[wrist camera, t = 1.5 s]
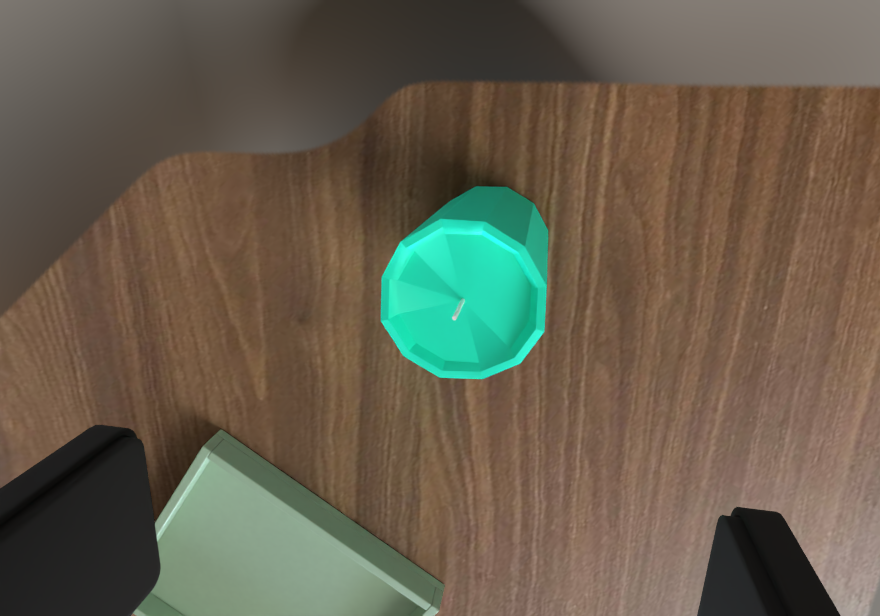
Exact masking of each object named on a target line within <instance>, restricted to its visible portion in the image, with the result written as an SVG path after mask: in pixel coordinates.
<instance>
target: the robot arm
mask: <svg viewBox="0 0 880 616" xmlns="http://www.w3.org/2000/svg"><path fill="white" fill-rule="evenodd" d="M160 570H161V564H160V557H159V550H158V543H157V536H156V529H155V522H154V514H153V507H152V500H151V493H150V486H149V479H148V472H147V465H146V458H145V451H144V446H143V443H142V441H141V440H140V439H138V438H137V436H136V434H135V433H134V431H133V430H131V429H129V428H121V427H113V426H105V425H95V426H93V427H91V428H89V429H87V430H86V431H85V432H83V433H82V434H80V435H79V436H77V437H76V438H74V439H73V440H71V441H70V442H68V443H67V444H65V445H64V446H62V447H61V448H59V449H58V450H57V451H55V452H54V453H52V454H51V455H49V456H48V457H46V458H45V459H43V460H42V461H40V462H39V463H37V464H36V465H34V466H33V467H31V468H30V469H29V470H27V471H26V472H24V473H23V474H21V475H20V476H18V477H17V478H15V479H14V480H12V481H11V482H9V483H8V484H6V485H5V486H3V487H2V488H1V489H0V616H131V615H132V614H133V612H134V611H135V610H136V609H137V608H138V606H139V605H140V604H141V603H142V602H143V601H144V599H145V598H146V597H147V596H148V595H149V593H150V592H151V591H152V590H153V588H154V587H155V585H156V583H157V581H158V578H159V575H160ZM697 616H840V614H839V612H838V611H837V609H836V607H835V605H834V604H833V602H832V600H831V599H830V597H829V595H828V593H827V592H826V590H825V588H824V586H823V585H822V583H821V581H820V580H819V578H818V576H817V574H816V573H815V571H814V569H813V567H812V566H811V564H810V562H809V561H808V559H807V557H806V555H805V554H804V552H803V550H802V549H801V547H800V545H799V543H798V542H797V540H796V538H795V536H794V535H793V533H792V531H791V530H790V528H789V526H788V524H787V523H786V521H785V519H784V518H783V516H782V515H781V514H780V513H778V512H773V511H765V510H757V509H749V508H742V507H736V508H734V510H733V511H732V513H731V516H724V515H722V516H720V517H719V519H718V522H717V526H716V531H715V535H714V540H713V545H712V549H711V554H710V559H709V563H708V568H707V573H706V577H705V582H704V587H703V592H702V596H701V601H700V606H699V610H698V615H697Z"/></svg>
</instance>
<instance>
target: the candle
mask: <svg viewBox="0 0 880 616" xmlns="http://www.w3.org/2000/svg"><path fill="white" fill-rule="evenodd" d="M547 258H548V229H547V227H546V225H545V223H544V222H543V220H542V218H541V216H540V214H539V212H538V210H537V208H536V206H535V205H534V203H533V202H531V201H529V200H528V199H526V198H525V197H523V196H521V195H520V194H518V193H516V192H515V191H513V190H511V189H510V188H508V187H489V186H475V187H474V188H472V189H470V190H468V191H467V192H465V193H463V194H461V195H460V196H458V197H456V198H454V199H453V200H451V201H449V202H448V203H447V204H445V205H444V206H443V207H442V208H441V209H439V210H438V211H437V212H436V213H435V214H433V215H432V216H431V217H430V218H429V219H427V220H426V221H425V222H424V223H423V224H421V225H420V226H419V227H418V228H416V229H415V230H414V231H413V232H412V233H410V234H409V235H408V236H407V237H406V238H404V239H403V240H402V241H401V242H400V244H399V245H398V247H397V249H396V251H395V253H394V255H393V257H392V259H391V260H390V262H389V264H388V266H387V268H386V270H385V272H384V274H383V276H382V290H381V322H382V324H383V325H384V327H385V328H386V330H387V331H388V333H389V334H390V336H391V338H392V339H393V341H394V342H395V344H396V345H397V347H398V348H399V350H400V352H401V353H402V355H403V356H404V357H406V358H408V359H409V360H411V361H413V362H414V363H416V364H418V365H419V366H421V367H423V368H424V369H426V370H428V371H429V372H431V373H433V374H435V375H436V376H438V377H440V378H464V379H484V378H486V377H489V376H491V375H494V374H496V373H499V372H501V371H503V370H506V369H508V368H511V367H513V366H516V365H518V364H520V363H521V362H522V361H523V359H524V358H525V357H526V355H527V354H528V353H529V351H530V350H531V349H532V347H533V346H534V345H535V343H536V342H537V341H538V339H539V338H540V337H541V335H542V334H543V333H544V329H545V310H546V291H547Z"/></svg>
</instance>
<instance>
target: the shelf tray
mask: <svg viewBox="0 0 880 616" xmlns="http://www.w3.org/2000/svg"><path fill="white" fill-rule="evenodd" d="M155 529H156V536H157V543H158V550H159V557H160V564H161V570H160V575H159V578H158V581H157V583H156V585H155V587H154V588H153V590H152V591H151V592H150V593H149V595H148V596H147V597H146V598H145V599H144V601H143V602H142V603H141V604H140V605H139V606H138V608H137V609H136V610H135V611H134V612H133V613H134V614H135V615H137V616H434V615H435V614H436V613H437V612H438V611H439V609H440V604H441V600H442V596H443V591H444V587H445V585H444V584H442V583H441V582H439V581H438V580H437V579H435V578H434V577H432V576H431V575H429V574H428V573H427V572H425V571H424V570H422V569H421V568H419V567H418V566H417V565H415V564H414V563H412V562H411V561H409V560H408V559H407V558H405V557H404V556H402V555H401V554H399V553H398V552H397V551H395V550H394V549H392V548H391V547H389V546H388V545H386V544H385V543H384V542H382V541H381V540H379V539H378V538H376V537H375V536H374V535H372V534H371V533H369V532H368V531H366V530H365V529H364V528H362V527H361V526H359V525H358V524H356V523H355V522H354V521H352V520H351V519H349V518H348V517H346V516H345V515H343V514H342V513H341V512H339V511H338V510H336V509H335V508H333V507H332V506H331V505H329V504H328V503H326V502H325V501H323V500H322V499H321V498H319V497H318V496H316V495H315V494H313V493H312V492H311V491H309V490H308V489H306V488H305V487H303V486H302V485H301V484H299V483H298V482H296V481H295V480H293V479H292V478H290V477H289V476H288V475H286V474H285V473H283V472H282V471H280V470H279V469H278V468H276V467H275V466H273V465H272V464H270V463H269V462H268V461H266V460H265V459H263V458H262V457H260V456H259V455H258V454H256V453H255V452H253V451H252V450H250V449H249V448H247V447H246V446H245V445H243V444H242V443H240V442H239V441H237V440H236V439H235V438H233V437H232V436H230V435H229V434H227V433H226V432H225V431H223V430H222V429H220V430H219V431H218V432H217V433H216V434H215V435H214V436H213V437H212V438H211V439H210V440H209V441H208V442H206V443H205V444H204V445H203V446H202V448H201V450H200V451H199V453H198V454H197V456H196V458H195V459H194V461H193V462H192V464H191V466H190V467H189V469H188V470H187V472H186V474H185V475H184V477H183V478H182V480H181V482H180V483H179V485H178V486H177V488H176V490H175V491H174V493H173V495H172V496H171V498H170V499H169V501H168V503H167V504H166V506H165V507H164V509H163V511H162V512H161V514H160V515H159V517H158V519H157V520H156V522H155Z"/></svg>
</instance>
